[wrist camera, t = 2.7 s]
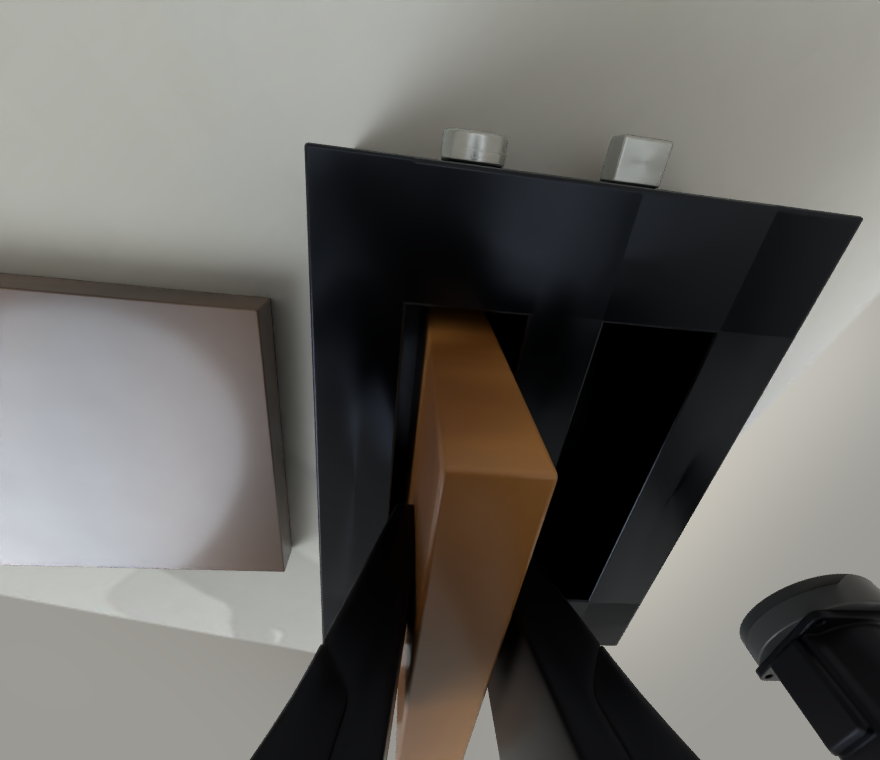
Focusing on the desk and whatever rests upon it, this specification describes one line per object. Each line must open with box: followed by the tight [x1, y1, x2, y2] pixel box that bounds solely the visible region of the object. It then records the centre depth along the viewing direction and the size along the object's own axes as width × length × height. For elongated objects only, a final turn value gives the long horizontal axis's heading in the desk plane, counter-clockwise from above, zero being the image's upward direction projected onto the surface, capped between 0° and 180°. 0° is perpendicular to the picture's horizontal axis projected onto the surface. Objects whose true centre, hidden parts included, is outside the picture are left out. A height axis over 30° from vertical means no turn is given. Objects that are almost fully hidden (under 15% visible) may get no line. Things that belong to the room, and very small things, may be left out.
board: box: [0, 273, 292, 572], centre depth 15 cm, size 12×12×1 cm
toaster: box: [304, 128, 863, 646], centre depth 12 cm, size 10×15×6 cm, turn 173°
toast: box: [396, 306, 558, 760], centre depth 10 cm, size 1×8×8 cm, turn 173°
